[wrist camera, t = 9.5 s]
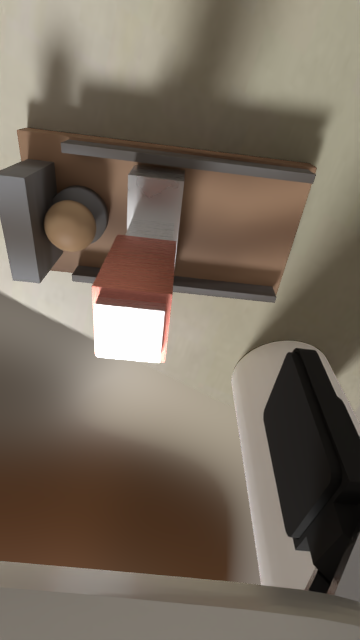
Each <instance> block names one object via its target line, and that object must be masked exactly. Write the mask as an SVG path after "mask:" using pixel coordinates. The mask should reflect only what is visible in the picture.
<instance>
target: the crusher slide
mask: <svg viewBox="0 0 360 640" xmlns="http://www.w3.org/2000/svg"><path fill="white" fill-rule="evenodd" d="M184 176H185V170H178V169H169V168H161V167H153V166H145V165H137V164H135V166H134V167H133V168H132V170H131V171H130V173H129V174H128V198H127V232H126V234H125V235H118V234H117V236H116V238H115V240H114V242H113V244H112V246H111V248H110V251H109V253H108V255H107V257H106V259H105V261H104V263H103V265H102V267H101V269H100V271H99V273H98V275H97V277H96V279H95V281H94V283H93V285H92V298H93V319H94V340H95V355H96V356H97V357H102V358H113V359H123V360H134V361H144V362H154V363H160V362H165V356H166V347H167V338H168V329H169V320H170V311H171V302H172V293H173V280H174V269H175V260H176V251H177V242H178V233H179V224H180V215H181V206H182V197H183V188H184Z"/></svg>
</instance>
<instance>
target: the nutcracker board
mask: <svg viewBox="0 0 360 640" xmlns="http://www.w3.org/2000/svg"><path fill="white" fill-rule="evenodd" d="M17 135H18V141H19V148H20V155H21V162H19V163H17V164H14V165H12V166H10V167H7V168H5V169H3V170H0V218H1V223H2V228H3V233H4V238H5V243H6V248H7V253H8V258H9V263H10V268H11V273H12V278H13V280H14V281H24V282H33V283H40V282H41V281H42V280H43V279H44V277H45V276H46V275H47V273H48V272H49V271H50V270H52V271H61V272H70V273H73V274H72V281H76V282H85V283H94V281H95V279H96V277H97V275H98V273H99V271H100V269H101V267H102V265H103V263H104V261H105V259H106V257H107V255H108V253H109V251H110V248H111V246H112V244H113V242H114V240H115V238H116V236H117V234H118V235H125V234H126V232H127V198H128V174H129V173H130V171H131V170H132V168H133V167H134V166H135V164H137V165H145V166H153V167H161V168H169V169H178V170H185V176H184V188H183V197H182V206H181V215H180V224H179V233H178V242H177V251H176V260H175V269H174V280H173V292H179V293H188V294H198V295H207V296H216V297H226V298H235V299H244V300H254V301H263V302H273V303H275V300H276V294H277V291H278V288H279V285H280V281H281V278H282V275H283V272H284V269H285V266H286V263H287V260H288V257H289V253H290V250H291V247H292V244H293V241H294V238H295V235H296V232H297V229H298V225H299V222H300V219H301V216H302V213H303V210H304V207H305V204H306V200H307V197H308V194H309V191H310V188H311V185H312V184H313V182H314V179H315V176H316V174H315V172H316V169H317V168H316V167H315V166H313V165H311V164H310V163H302V162H294V161H286V160H279V159H271V158H263V157H255V156H247V155H239V154H231V153H223V152H215V151H208V150H200V149H192V148H184V147H176V146H168V145H160V144H152V143H144V142H136V141H129V140H121V139H113V138H105V137H97V136H89V135H81V134H73V133H65V132H58V131H50V130H42V129H34V128H23V129H19V130H17Z"/></svg>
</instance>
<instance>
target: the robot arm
mask: <svg viewBox="0 0 360 640" xmlns="http://www.w3.org/2000/svg"><path fill="white" fill-rule="evenodd" d="M263 421H264V426H265V431H266V436H267V441H268V446H269V451H270V456H271V461H272V466H273V471H274V476H275V481H276V486H277V491H278V496H279V502H280V507H281V512H282V517H283V522H284V527H285V531H286V534H287V535H288V537H293V542H294V547H295V550H298V551H310V554H311V558H312V562H313V565H314V566H315V569H314V571H313V573H312V575H311V577H310V579H309V581H308V584H307V586H306V588H305V590H301V589H292V588H283V587H274V586H265V585H256V584H247V583H237V582H228V581H218V580H207V579H195V578H185V577H173V576H163V575H152V574H141V573H130V572H119V571H108V570H96V569H84V568H73V567H62V566H50V565H38V564H27V563H15V562H4V561H0V640H360V437H359V435H358V432H357V430H356V428H355V426H354V424H353V422H352V419H351V417H350V415H349V413H348V411H347V409H346V406H345V404H344V403H343V401H342V400H341V399H340V398H339V397H337V395H336V393H335V391H334V388H333V386H332V384H331V382H330V379H329V377H328V375H327V373H326V370H325V368H324V366H323V364H322V362H321V359H320V357H319V355H318V353H317V351H315V350H310V349H301V348H295V349H294V350H293V352H288V353H287V354H286V356H285V359H284V361H283V364H282V366H281V369H280V371H279V374H278V376H277V379H276V381H275V384H274V386H273V389H272V391H271V394H270V396H269V399H268V401H267V404H266V406H265V409H264V413H263Z"/></svg>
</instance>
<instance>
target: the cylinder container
mask: <svg viewBox="0 0 360 640" xmlns="http://www.w3.org/2000/svg"><path fill="white" fill-rule="evenodd" d="M295 348H301V349H310V350H315V351H317V353H318V355H319V357H320V359H321V362H322V364H323V366H324V368H325V370H326V373H327V375H328V377H329V379H330V382H331V384H332V386H333V388H334V391H335V393H336V395H337V397H339V398H340V399H341V400H342V401H343V403H344V404H345V406H346V409H347V411H348V413H349V415H350V417H351V419H352V422H353V424H354V426H355V428H356V430H357V432H358V435H359V437H360V423H359V421H358V419H357V417H356V415H355V413H354V411H353V409H352V407H351V405H350V403H349V401H348V399H347V397H346V395H345V393H344V391H343V389H342V387H341V386H340V384H339V382H338V380H337V378H336V376H335V374H334V372H333V370H332V368H331V366H330V364H329V362H328V360H327V358H326V357H325V355H324V354H323V353H322V352H321V351H320V350H318V349H317V348H315V347H314V346H312V345H309V344H307V343H303V342H298V341H277V342H272V343H268V344H265V345H262V346H260V347H258V348H256V349H254V350H252V351H251V352H249V353H248V354H246V355H245V356H244V357H243V358H242V359H241V360H240V361H239V362H238V364H237V365H236V367H235V369H234V371H233V374H232V380H231V381H232V389H233V396H234V403H235V409H236V416H237V423H238V430H239V436H240V443H241V449H242V457H243V464H244V470H245V477H246V483H247V491H248V497H249V504H250V511H251V517H252V525H253V532H254V538H255V545H256V552H257V559H258V566H259V572H260V579H261V585H265V586H274V587H283V588H292V589H301V590H305V588H306V586H307V584H308V581H309V579H310V577H311V575H312V573H313V571H314V569H315V566H314V565H313V562H312V558H311V554H310V551H298V550H295V547H294V542H293V537H288V535H287V534H286V531H285V527H284V522H283V517H282V512H281V507H280V502H279V496H278V491H277V486H276V481H275V476H274V471H273V466H272V461H271V456H270V451H269V446H268V441H267V436H266V431H265V426H264V421H263V413H264V409H265V406H266V404H267V401H268V399H269V396H270V394H271V391H272V389H273V386H274V384H275V381H276V379H277V376H278V374H279V371H280V369H281V366H282V364H283V361H284V359H285V356H286V354H287V353H288V352H293V350H294V349H295Z"/></svg>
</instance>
